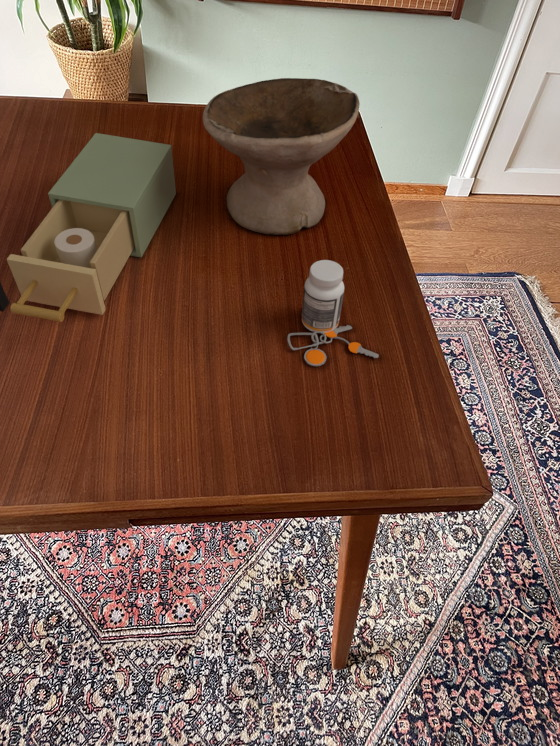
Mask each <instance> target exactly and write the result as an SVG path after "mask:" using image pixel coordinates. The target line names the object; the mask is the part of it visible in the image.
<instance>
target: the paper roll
mask: <svg viewBox="0 0 560 746" xmlns="http://www.w3.org/2000/svg"><path fill="white" fill-rule="evenodd" d="M54 243H55V247H56V250H57V253H58V256H59V260H60V263H64V264H69V265H75V266H81V267H86V268H91V266H90V261H91V259H92V258H93V256H94V255H95V253H96V251H97V248H96V244H95V240H94V236H93V234H92V233H91V232H90V231H88V230H86V229H82V228H72V229H68V230H65V231H63V232H61V233H60V234H58V235H57V236H56V238H55V241H54Z"/></svg>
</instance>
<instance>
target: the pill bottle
mask: <svg viewBox="0 0 560 746" xmlns="http://www.w3.org/2000/svg"><path fill="white" fill-rule="evenodd" d="M343 279H344V268H343V267H342V266H341V265H340V264H339V263H338V262H336V261H334V260H329V259H321V260H317V261H314V262H313V263H312V264H311V266H309V274H308V277H306V280H305V282H304V285H303V296H302V308H301V322H302V324H303V327H304V328H306V329H307V330H308V331H310V332H311V333H314V332H315V331H318V332H323V333H326V332H330V331H333V330H334V329H335V328H338V326H339V324H340V318H341V313H342V307H343V300H344V295H345V284H344V281H343Z"/></svg>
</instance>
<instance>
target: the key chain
mask: <svg viewBox="0 0 560 746" xmlns="http://www.w3.org/2000/svg"><path fill="white" fill-rule="evenodd" d="M350 330H353V327H352V326H351V325H350V324H346V326H345V325H340V326H339V327H336V328H335V329H334V330H333V331H330V332H326V333H323V332H318V331H315V332H290V333H288V334H287V344H288V347H289V348H290V349H291V350H292V351H298V350H301V349H306V348H309V349H307V350H306V351H305V353H304V355H303V360H304V361H305V363H306V364H307V365H309V366H311V367H321V366H322V365H325V363H326V362H327V358H328V356H327V354H326V352H325V351H324V350H322V349H320V348H318V347H319V345H322V344H331V343H332V342H333V339H335V340H337V339H338V340H340V341H343V342H344V343H346V344H347V345H348V350H349V352H350V353H352V354H364V355H365V356H366V357H368V356H369V357H372V358H373V359H378V358H379V357H380V356H379V355H380V354H379V353H376V352H374V351H371V350H369V349H366V348H363V347H362V344H361V343H360V342H357V341H353V342H349V341H348V340H347V339H345V338H343V337H340V336H338V334H339V333H343V332H347V331H350ZM318 334H321V335H320V336H318ZM292 336H310V337H311V340H312V342H313V343H312V344H310V345H305V346H300V347H293V344H292V343H291V337H292ZM327 338H329V339H330V340H329V341H327ZM313 347H315V348H313Z"/></svg>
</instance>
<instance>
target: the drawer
mask: <svg viewBox="0 0 560 746" xmlns="http://www.w3.org/2000/svg"><path fill="white" fill-rule="evenodd" d="M72 228H82V229H86V230H88V231H90V232H91V233H92V234H93V236H94V240H95V244H96V248H97V251H96V253H95V255H94V256H93V258H92V259H91V261H90V266H91V268H86V267H81V266H75V265H69V264H64V263H60V260H59V256H58V253H57V250H56V247H55V243H54V241H55V238H56V236H57V235H58V234H60V233H61V232H63V231H65V230H68V229H72ZM134 247H135V242H134V237H133V231H132V225H131V219H130V214H129V211H125V210H119V209H113V208H107V207H101V206H96V205H90V204H84V203H78V202H72V201H66V200H60V199H59V200H58V201H57V203H56V204H55V205H54V207H53V208H52V207H51V209H50V210H49V212H48V213H47V214H46V216H45V217H44V218H43V219H42V220H41V222H40V223H39V225H38V226H37V227H36V229H35V230H34V232H33V233H32V234H31V235H30V237H29V238H28V239H27V241H26V242H25V243H24V245H23V246H22V247H21V248H20V252H21V255H19V254H13V253H10V254H9V255H8V257H7V258H6V263H7V264H8V266H9V269H10V271H11V274H12V277H13V280H14V282H15V284H16V286H17V289H18V292H19V294H20V298H19V299H18V300H17V301H16V302H12V303H11V305H10V313H12V314H15V315H21V316H25V317H26V316H27V317H33V318H37V319H42V320H48V321H54V322H59V323H62V322H64V320H65V313H66V311H67V309H69V310H74V311H80V312H85V313H90V314H96V315H101V316H103V315H104V313H105V312H106V305H105V300H106V299H107V297H108V295H109V293H110V292H111V290H112V288H113V286H114V285H115V283H116V281H117V279H118V277H119V276H120V274H121V272H122V270H123V268H124V267H125V265H126V263H127V261H128V259H129V258H130V254H131V253H132V251H133V249H134ZM26 302H30V303H37V304H41V305H47V306H51V307H52V306H53V307H58V308H59V309H58V310H55V309H49V308H46V307H45V308H44V307H38V306H34V305H27V304H25V303H26Z"/></svg>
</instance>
